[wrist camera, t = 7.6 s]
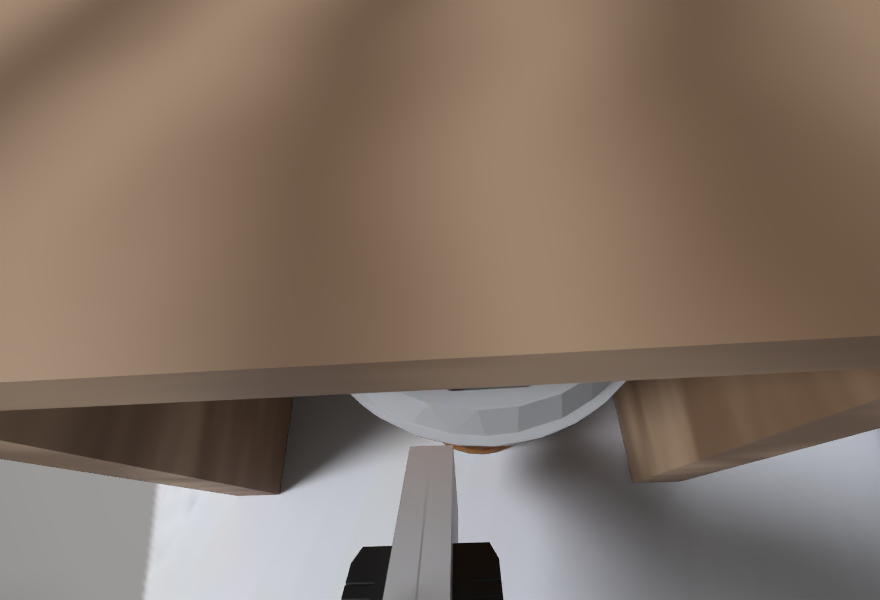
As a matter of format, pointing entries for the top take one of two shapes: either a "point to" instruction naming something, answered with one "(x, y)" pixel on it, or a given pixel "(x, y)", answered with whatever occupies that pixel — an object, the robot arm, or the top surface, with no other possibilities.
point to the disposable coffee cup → (489, 412)
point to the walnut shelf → (434, 221)
